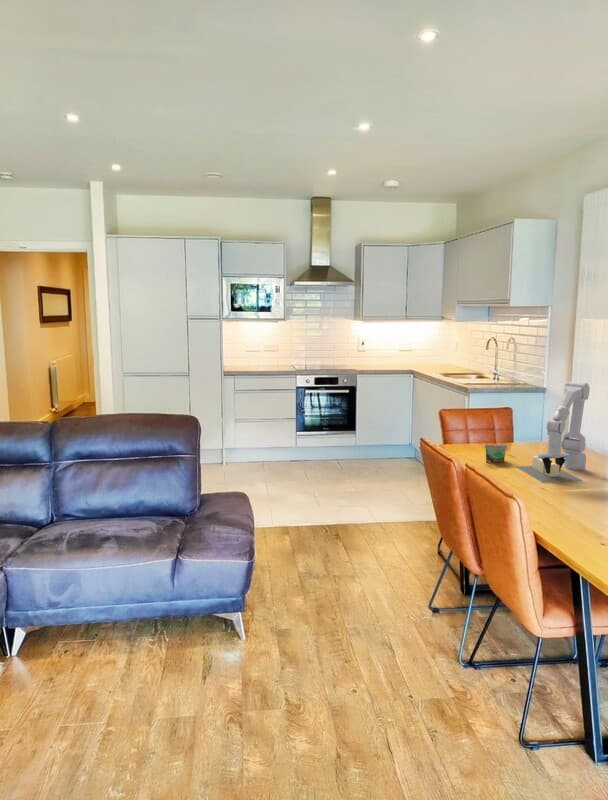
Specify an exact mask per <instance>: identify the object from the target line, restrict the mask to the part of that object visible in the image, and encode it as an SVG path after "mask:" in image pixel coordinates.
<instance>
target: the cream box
mask: <svg viewBox="0 0 608 800" xmlns="http://www.w3.org/2000/svg"><path fill="white" fill-rule="evenodd" d="M552 463H554V462H553V461H552ZM531 464H532V465H531V466H532V467H533V468H535V469H536V470H538V471H540V472H542V473H544V474H545V466H544V463H543V461H542V459H539V458H538V455H537V456H535V455H534V456H532V462H531Z"/></svg>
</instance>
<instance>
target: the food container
mask: <svg viewBox="0 0 608 800" xmlns="http://www.w3.org/2000/svg"><path fill="white" fill-rule="evenodd" d="M484 449H485V462H486V463H487V464H490V465H491V463H492V464H494V463H495V464H502V463H505V457H506V451H507V449H508V445H507V443H506V442H504V443H503V444H487V443H486V444H485V445H484Z"/></svg>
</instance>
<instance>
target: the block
mask: <svg viewBox="0 0 608 800" xmlns="http://www.w3.org/2000/svg"><path fill="white" fill-rule="evenodd" d="M559 467H560V465H558V464H556V463H555V462H553V463H551V466H550V473H549V474H548V473H546V470H545V474H546V475H548V476H550V477H557V476H559Z"/></svg>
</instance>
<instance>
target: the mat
mask: <svg viewBox="0 0 608 800" xmlns="http://www.w3.org/2000/svg"><path fill="white" fill-rule="evenodd" d="M515 468H517V469H518V470H520V471H522V472H524V473H526V474H527V475H529V476H530V477H533V478H534V479H535V480H537V481H539V482H541V483H543V484H545V483H568V482H569V483H570V482H571V483H572V482H584V480H583V479H581V478H579V477H577V476H575V475H573V474H571V473H569V472H567V471H565V470H563V469H562V468H561V469H560V472H559V476H557V477H550V476H548V475H546V474H544V473H542V472H540V471H538V470H536V469H535V468H533V467H532V465H522V466H521V465H520V466H519V465H518V466H515Z"/></svg>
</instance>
